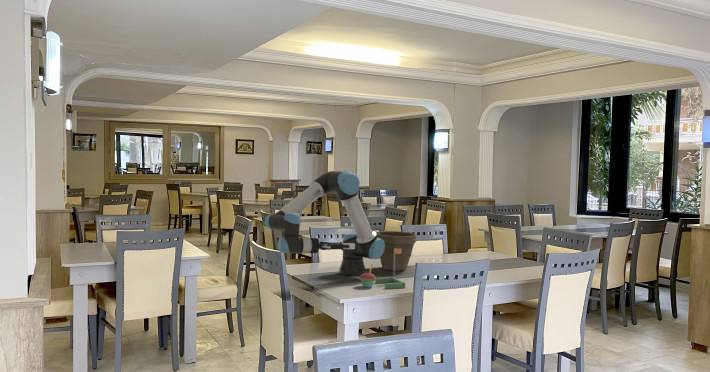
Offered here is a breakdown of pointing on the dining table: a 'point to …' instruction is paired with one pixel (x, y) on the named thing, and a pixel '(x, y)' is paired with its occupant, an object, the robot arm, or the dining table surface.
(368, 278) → the cupcake
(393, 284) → the mini putting green
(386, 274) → the dining table surface
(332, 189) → the robot arm
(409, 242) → the plant pot
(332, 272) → the dining table surface
